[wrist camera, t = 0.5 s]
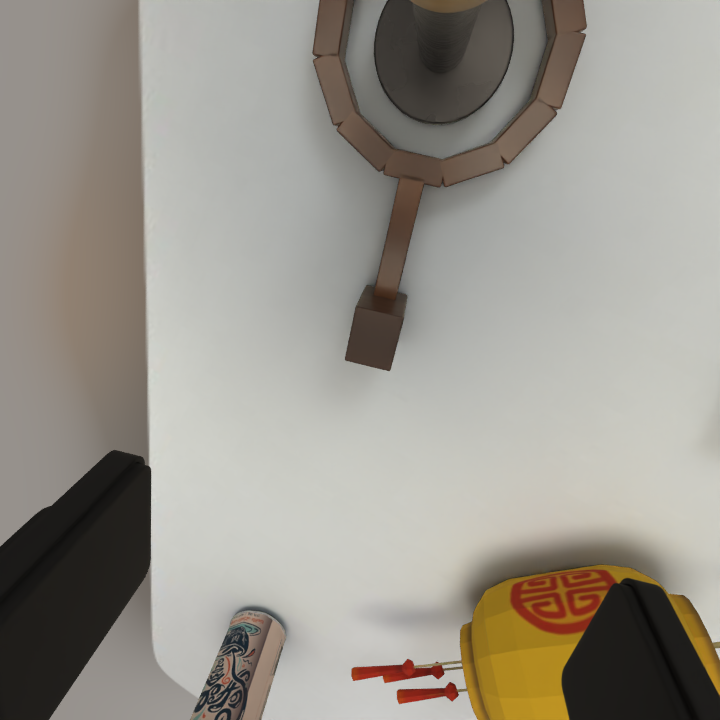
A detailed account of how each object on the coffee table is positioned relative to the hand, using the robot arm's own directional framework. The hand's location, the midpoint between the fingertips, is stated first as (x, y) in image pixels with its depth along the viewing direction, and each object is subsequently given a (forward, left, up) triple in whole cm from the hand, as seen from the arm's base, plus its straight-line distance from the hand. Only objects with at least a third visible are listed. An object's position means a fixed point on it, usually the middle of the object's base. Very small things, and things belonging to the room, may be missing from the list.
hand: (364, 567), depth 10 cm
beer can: (+30, -5, -19) cm, 36 cm away
